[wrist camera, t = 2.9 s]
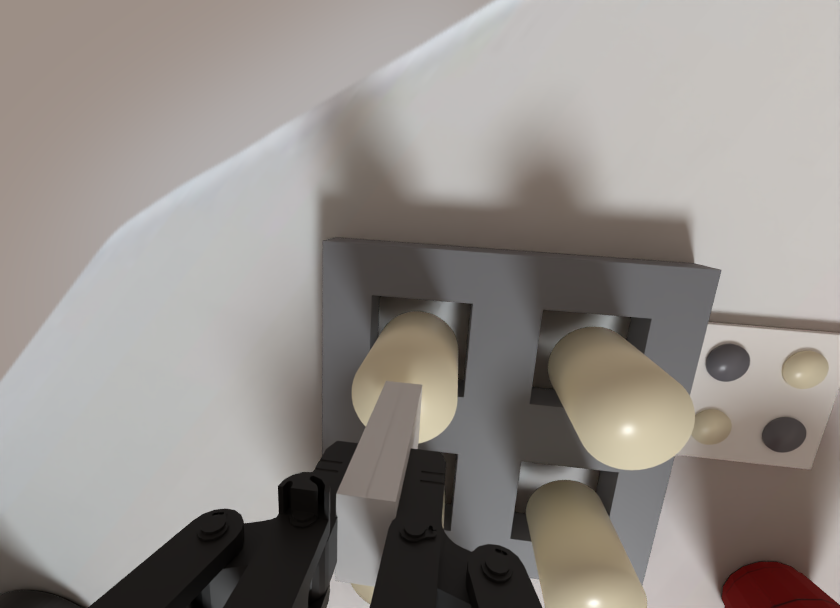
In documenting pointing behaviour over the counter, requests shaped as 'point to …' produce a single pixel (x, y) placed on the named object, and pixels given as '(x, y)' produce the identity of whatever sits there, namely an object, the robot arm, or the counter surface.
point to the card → (763, 394)
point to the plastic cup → (773, 588)
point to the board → (513, 368)
